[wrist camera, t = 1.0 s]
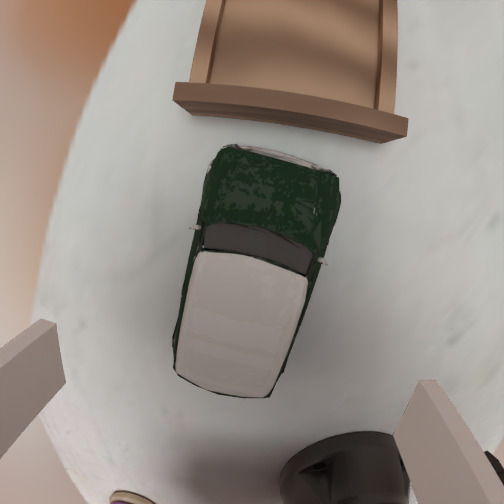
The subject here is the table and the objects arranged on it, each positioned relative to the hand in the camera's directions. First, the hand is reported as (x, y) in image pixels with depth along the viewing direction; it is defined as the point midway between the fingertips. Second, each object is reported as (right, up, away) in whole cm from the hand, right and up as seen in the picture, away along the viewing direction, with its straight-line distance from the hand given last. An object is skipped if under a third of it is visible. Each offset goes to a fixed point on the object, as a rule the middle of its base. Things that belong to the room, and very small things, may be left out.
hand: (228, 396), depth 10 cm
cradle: (+5, +25, +10) cm, 28 cm away
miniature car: (+1, +3, +15) cm, 16 cm away
